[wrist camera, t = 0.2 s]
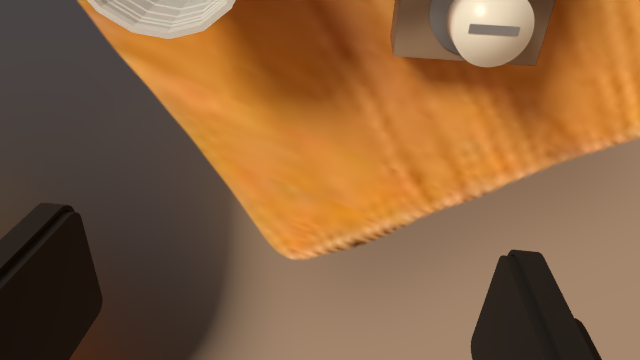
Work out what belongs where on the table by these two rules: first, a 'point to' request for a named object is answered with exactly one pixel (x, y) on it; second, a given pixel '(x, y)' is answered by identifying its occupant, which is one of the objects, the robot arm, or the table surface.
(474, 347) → the robot arm
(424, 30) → the knob bar
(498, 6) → the knob
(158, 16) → the plastic cup
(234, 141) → the table surface
